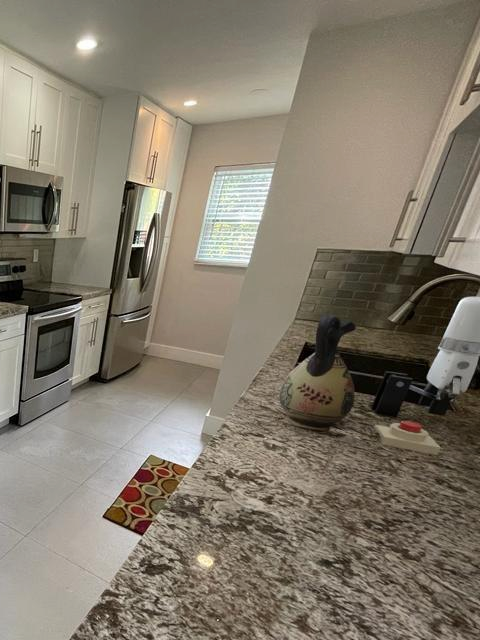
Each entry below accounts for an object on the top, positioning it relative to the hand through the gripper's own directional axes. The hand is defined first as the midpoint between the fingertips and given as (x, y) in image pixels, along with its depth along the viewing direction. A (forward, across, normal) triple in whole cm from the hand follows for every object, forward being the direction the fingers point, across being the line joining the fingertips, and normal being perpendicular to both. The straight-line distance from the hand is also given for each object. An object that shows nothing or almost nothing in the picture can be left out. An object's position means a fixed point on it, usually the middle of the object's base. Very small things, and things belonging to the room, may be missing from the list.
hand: (431, 409), depth 112 cm
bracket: (+5, 0, +9) cm, 10 cm away
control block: (+5, -18, +9) cm, 21 cm away
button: (+1, -18, +9) cm, 20 cm away
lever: (-4, 0, +5) cm, 6 cm away
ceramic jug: (+5, -18, +29) cm, 34 cm away
